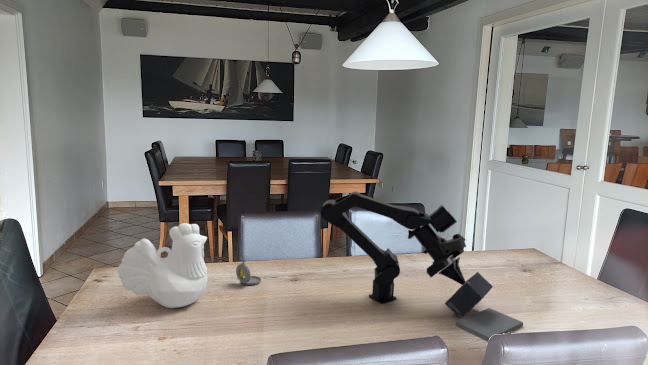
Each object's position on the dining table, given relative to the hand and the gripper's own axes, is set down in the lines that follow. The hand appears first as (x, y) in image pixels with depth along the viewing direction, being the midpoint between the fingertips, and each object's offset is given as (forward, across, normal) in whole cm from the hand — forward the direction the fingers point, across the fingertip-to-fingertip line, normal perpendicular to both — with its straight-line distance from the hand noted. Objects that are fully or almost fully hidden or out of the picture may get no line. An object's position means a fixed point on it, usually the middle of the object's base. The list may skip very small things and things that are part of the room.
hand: (464, 283), depth 131 cm
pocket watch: (-41, -23, +53) cm, 71 cm away
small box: (+4, 0, +6) cm, 8 cm away
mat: (+13, -4, 0) cm, 13 cm away
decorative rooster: (-48, -50, +59) cm, 91 cm away
